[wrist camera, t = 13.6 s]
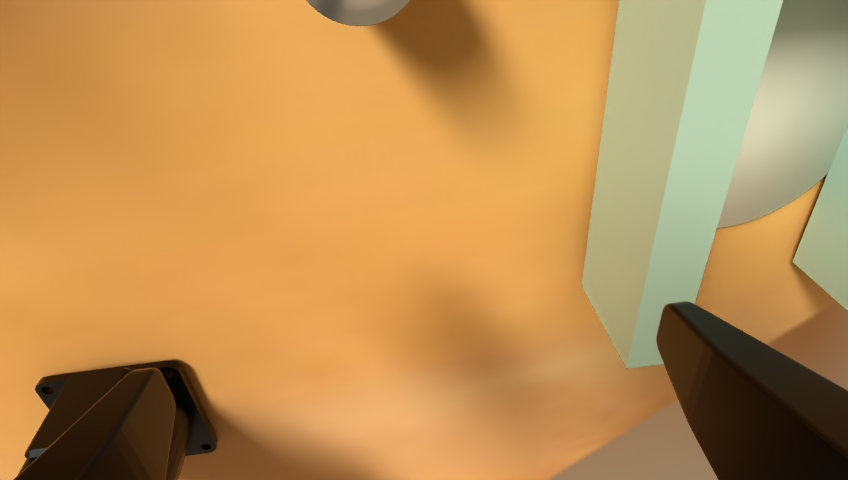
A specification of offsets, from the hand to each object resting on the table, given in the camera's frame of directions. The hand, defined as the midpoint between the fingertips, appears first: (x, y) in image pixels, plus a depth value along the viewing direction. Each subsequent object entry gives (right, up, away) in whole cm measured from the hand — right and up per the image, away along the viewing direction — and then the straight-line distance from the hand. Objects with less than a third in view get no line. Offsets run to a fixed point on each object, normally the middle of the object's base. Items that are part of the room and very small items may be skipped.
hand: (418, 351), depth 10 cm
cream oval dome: (+13, +7, +11) cm, 18 cm away
